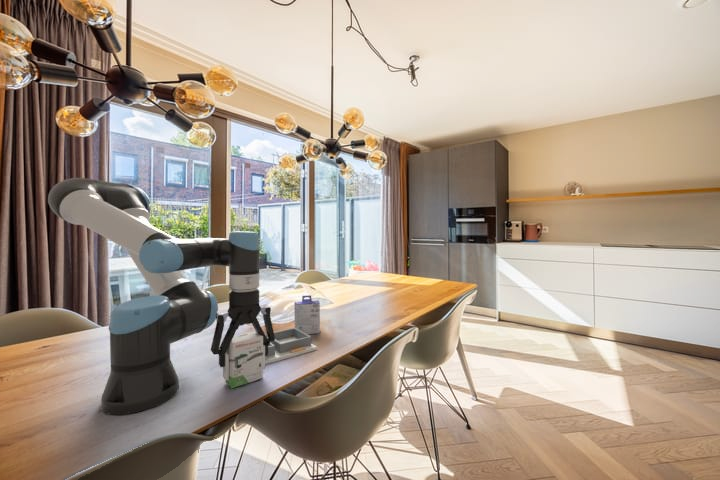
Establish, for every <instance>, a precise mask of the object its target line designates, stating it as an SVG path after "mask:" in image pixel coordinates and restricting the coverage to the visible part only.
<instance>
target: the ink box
mask: <svg viewBox="0 0 720 480" xmlns="http://www.w3.org/2000/svg"><path fill="white" fill-rule="evenodd" d="M226 352H227V353H228V354H229V380H225V379H224V380H225V383H226V384H227V385H228V386H229V387H230V388H231V389H234V388H237V387H240V386H243V385H246V384H248V383H252V382H255V381H257V380H261V379H263V378H264V370H263V336H262V335H261V336H260V335H259V334H258V333H257V332H256V331H251V332H250V331H249V332H247V333H241V334H236V335H234V336H233V338H232V341H231V342H230V345H229V347H228V349H227V351H226Z"/></svg>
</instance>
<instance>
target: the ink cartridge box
mask: <svg viewBox="0 0 720 480" xmlns="http://www.w3.org/2000/svg"><path fill="white" fill-rule="evenodd" d="M301 298H302V299H301V301H294V328H296V329H298V330H300V331H302V332H304V333H305V334H307V335H313V334H314V335H315V334H321V333H320V331H321V321H320V320H321V319H320V318H321V316H320V315H321V313H320V311H321V310H320V309H321V303H320V300H317V299H316V300H312V295H302V296H301ZM306 298H307V299H306Z"/></svg>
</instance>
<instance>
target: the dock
mask: <svg viewBox="0 0 720 480" xmlns="http://www.w3.org/2000/svg"><path fill="white" fill-rule="evenodd" d="M265 336H266V337H267V333H265ZM274 336H275V340H274V341H271V342H270V345H268V355H267V356H265V365H267V364H271V363H275V362H278V361H282V360H285V359H289V358H292V357H296V356H298V355H303V354H307V353H309V352H313V351H317V350H318V346H317V345H315V344H313V343H312V336H311V335H310V334H305V333H304V332H302V331H300V330H298V329H296V328H295V327H292V328H288V329H284V330H278V331H274Z"/></svg>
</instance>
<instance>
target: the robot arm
mask: <svg viewBox="0 0 720 480" xmlns="http://www.w3.org/2000/svg"><path fill="white" fill-rule="evenodd" d="M47 203H48V205H49V208H50V210H51V211H52V212H53V213H54V215H56V216H57V217H59V218H60V219H62V220H63V221H65V222H67V223H70V224H72V225H77V226H84V228H85V227H86V228H87V229H89V230H91V231H92V232H94V233H96V234H98V235H99V236H102V237H104V238H105V239H108V240H109V241H111V242H113V244H115V245H116V244H117V245H118V246H120V247H122V248H123V249H125V250H126V251H127V254H128V255H129V256H130V258H131V259H132V261H133V264H135V266H136V267H137V269H138V271H139V272H140V274H141V275H142V277H143V278H144V280H145V282H146V283H147V285H148V286H149V288H150V289H151V291H152V292H153V294H154V295H148V296H145V297H138V298H133V299H130V300H128V301H124V302H122V303H120V304H118V305H117V306H115V307H114V308H113V310H112V311H111V313H110V316H109V325H108V332H109V345H110V347H109V348H110V349H109V350H110V351H109V353H110V355H109V357H110V373H109V375H108V378H107V382H106V384H105V386H104V389H103V393H102V395H101V397H100V399H101V400H100V403H101V411H102V410H103V411H104V412H103V411H102V412H103V413H105V412H106V413H105V414H108V413H109V415H113V414H114V415H117V416H120V415H129V414H135V412H136V413H139V411H140V412H143V411H146V409H147V410H149V408H150V409H152V408H154V407H157V406H160V405H161V404H163V403H165V402H167V401H168V400H170V399H171V398H173V397H174V396H175V395H176V394H177V393H176V392H178V391H179V389H180V385H179V383H180V381H179V376H178V374H177V372H176V368H175V367H174V365H173V362H172V360H171V359H172V358H171V345H172V344H174V343H175V342H178V341H180V340H184V339H186V338H188V337H190V336H193V335H197V334H199V333H202V331H204V330H206V329H208V328H210V327H211V326H212V325H213V324H214V323H215V321H216V324H215V328H214V333H213V337H212V341H211V346H210V351H211V353H212V354H213V355H214V356H215V355H218V365H219V367H220V368H222V377H223V379H224V380H229V354H228V353H227V352H226V351H227V349H228V347H229V345H230V342H231V341H232V338H233V336H235V334H236V332H237V330H238V329H239V327H241V326H245V325H250V324H251V325H252V326H253V328H254V331H255V332H257V333H258V334H259V335H260V336H261V335H262V336H263V371H264V370H266V364H265V356H267V355H268V345H270V342H271V341H274V340H275V336H274V332H275V331H274V328H273V327H274V326H273V323H272V317H271V311H272V308H271V307H270V306H267V305H263V306H261V305H260V290H259V287H260V249H261V247H260V235H259V234H258V232H256V231H230V232H229V233H228V238H221V237H220V238H218V237H216V238H215V237H214V238H213V237H200V238H199V237H198V238H177V237H174V236H172V235H170V234H168V233H166V232H164V231H162V230H160V229H158V228H157V227H155V226H153V225H151V224H150V222H149V219H150V216H151V215H150V213H151V210H152V209H151V208H152V207H151V200H150V198H149V195H147V193H146V192H145V191H144V190H143V189H141V188H140V187H138V186H136V185H131V184H129V183H124V182H123V183H121V182H120V183H119V182H112V181H105V180H98V179H91V178H85V177H72V178H67V179H64V180H62V181H60V182H59V181H58V182H57V183H56V184H55V185H54V186H53V187H52V188H51V189H50V191H49V193H48V197H47ZM215 266H216V267H228V273H229V275H228V276H229V277H228V288H229V289H230V290H229V292H228V299H229V300H228V306H229V307H228V309H227V311H226V312H221V313H220V312H218V311H219V304H218V300H217V297H216V296H215V295H214V294H213V292H212V291H209V290H206V289H200V288H199V286H198V285H197V283H196V282H195V281H194V280H191V279H190V280H189V279H186V277H185V275H184V274H183V273H182V271H185V270H186V271H187V270H191V269H193V270H194V269H199V268H200V269H201V268H205V267H206V268H207V267H215ZM260 313H261V314H262V318H263V322H264V327H265V328H264V329H265V332H266V333H265V332H264V330H263V328H262V326H261V324H260V321H259V319H258V318H257V317H258V316H259V314H260ZM227 318H230V319H231V321H230V323H229V326H228V329H227V331H226V333H225V335H224V337H223V339H222V336H223V333H224V332H223V331H224V328H225V322H226V321H227ZM266 334H267V337H266ZM178 388H179V389H178ZM177 390H178V391H177ZM175 393H176V394H175ZM174 394H175V395H174ZM173 395H174V396H173ZM172 396H173V397H172Z"/></svg>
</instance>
